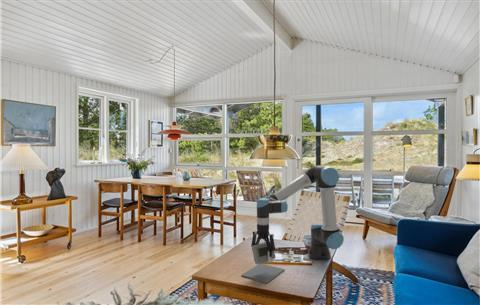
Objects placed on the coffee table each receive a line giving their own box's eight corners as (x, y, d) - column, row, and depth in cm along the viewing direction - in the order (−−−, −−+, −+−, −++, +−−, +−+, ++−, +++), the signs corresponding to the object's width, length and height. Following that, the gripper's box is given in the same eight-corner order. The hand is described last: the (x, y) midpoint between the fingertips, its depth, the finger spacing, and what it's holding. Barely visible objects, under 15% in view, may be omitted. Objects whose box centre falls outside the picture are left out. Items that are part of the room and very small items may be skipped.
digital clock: (255, 265, 192) (255, 247, 192) (248, 260, 200) (248, 243, 200) (278, 261, 199) (278, 243, 199) (271, 256, 207) (271, 239, 207)
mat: (260, 264, 215) (260, 263, 215) (284, 270, 204) (284, 269, 204) (241, 276, 196) (241, 274, 196) (267, 283, 186) (267, 282, 186)
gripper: (245, 222, 202) (245, 258, 203) (275, 227, 190) (275, 265, 191) (251, 220, 208) (251, 255, 209) (281, 224, 196) (281, 261, 197)
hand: (263, 260), depth 200 cm, fingers closed on digital clock, 8 cm apart
